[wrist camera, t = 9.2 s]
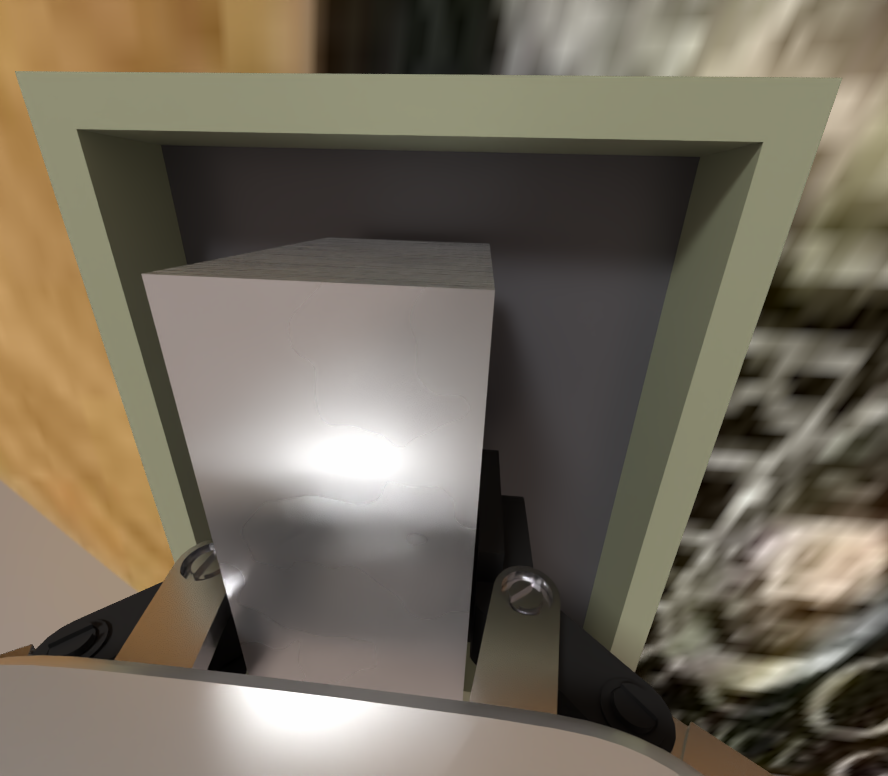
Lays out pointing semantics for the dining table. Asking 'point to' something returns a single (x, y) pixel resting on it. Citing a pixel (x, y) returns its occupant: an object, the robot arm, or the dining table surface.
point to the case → (512, 253)
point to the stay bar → (338, 449)
